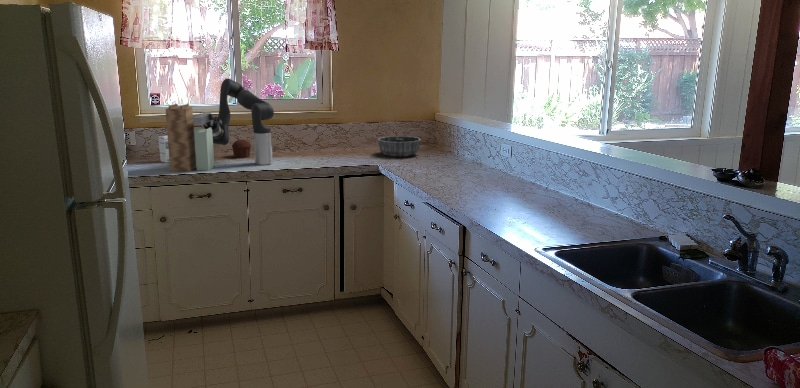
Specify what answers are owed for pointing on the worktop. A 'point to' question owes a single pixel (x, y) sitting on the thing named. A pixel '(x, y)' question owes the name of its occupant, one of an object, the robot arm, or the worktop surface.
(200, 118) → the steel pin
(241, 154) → the muffin
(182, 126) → the jenga block tower
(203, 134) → the pale green tall block
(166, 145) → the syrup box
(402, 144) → the bundt pan
